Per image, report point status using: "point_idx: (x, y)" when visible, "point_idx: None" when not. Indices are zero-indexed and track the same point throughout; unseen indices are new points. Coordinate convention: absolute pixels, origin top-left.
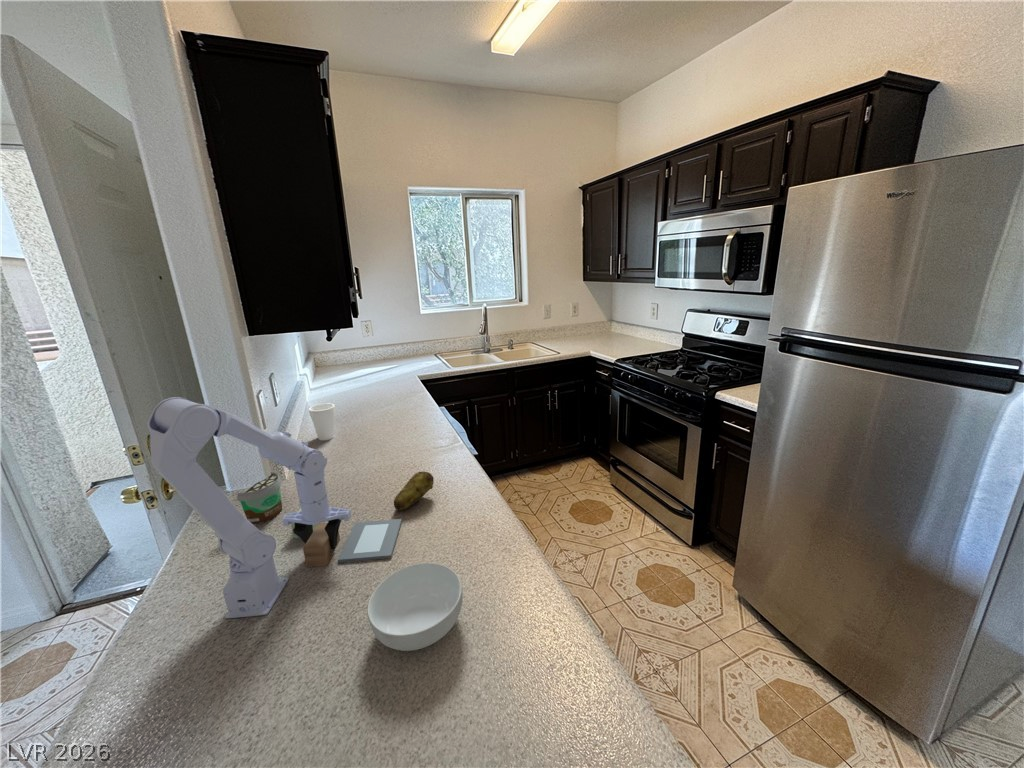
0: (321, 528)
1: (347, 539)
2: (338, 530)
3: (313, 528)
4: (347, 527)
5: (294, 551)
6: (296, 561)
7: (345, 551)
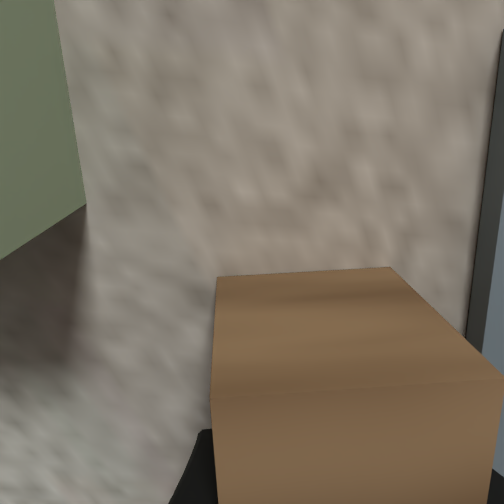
0: (313, 500)
1: (487, 321)
2: (434, 309)
3: (53, 152)
4: (415, 66)
5: (36, 394)
6: (126, 493)
7: (498, 459)
